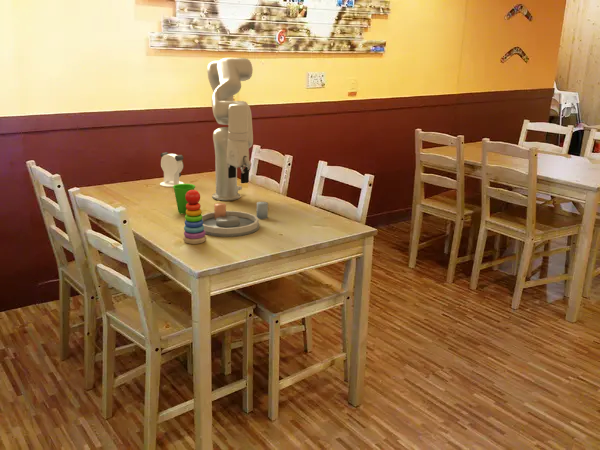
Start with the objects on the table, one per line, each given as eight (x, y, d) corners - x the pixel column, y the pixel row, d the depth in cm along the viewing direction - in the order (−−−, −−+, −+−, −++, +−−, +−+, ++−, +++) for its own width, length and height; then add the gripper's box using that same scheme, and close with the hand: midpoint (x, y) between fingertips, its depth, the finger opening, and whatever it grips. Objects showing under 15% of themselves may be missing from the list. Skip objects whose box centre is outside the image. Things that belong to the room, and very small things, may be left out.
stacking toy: (184, 237, 210) (182, 186, 204) (206, 237, 211) (205, 187, 205) (182, 244, 203) (180, 192, 197) (205, 244, 203) (204, 192, 198)
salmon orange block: (219, 216, 232) (218, 202, 230) (228, 218, 230) (228, 204, 228) (212, 219, 228) (211, 204, 227) (221, 221, 226) (221, 206, 225)
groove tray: (221, 214, 239) (221, 207, 238) (271, 224, 228) (271, 217, 227) (183, 229, 219) (182, 221, 218) (235, 241, 208) (235, 233, 207)
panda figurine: (189, 183, 287) (188, 153, 282) (173, 188, 278) (172, 157, 273) (171, 180, 293) (170, 150, 288) (155, 184, 283) (153, 154, 279)
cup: (191, 216, 235) (190, 189, 232) (170, 214, 237) (169, 187, 234) (199, 210, 244) (198, 184, 240) (178, 208, 245) (178, 182, 242)
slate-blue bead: (260, 215, 240) (260, 201, 238) (269, 217, 238) (269, 202, 236) (254, 217, 236) (254, 203, 234) (263, 219, 234) (264, 205, 232)
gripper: (218, 133, 227) (219, 176, 232) (241, 140, 214) (241, 186, 219) (235, 132, 231) (235, 174, 237) (258, 139, 218) (258, 183, 223)
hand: (238, 180), depth 228 cm, fingers open, 9 cm apart
